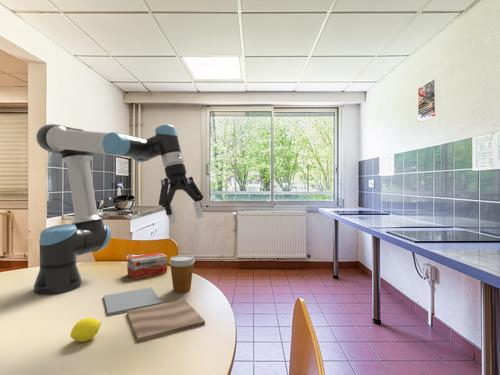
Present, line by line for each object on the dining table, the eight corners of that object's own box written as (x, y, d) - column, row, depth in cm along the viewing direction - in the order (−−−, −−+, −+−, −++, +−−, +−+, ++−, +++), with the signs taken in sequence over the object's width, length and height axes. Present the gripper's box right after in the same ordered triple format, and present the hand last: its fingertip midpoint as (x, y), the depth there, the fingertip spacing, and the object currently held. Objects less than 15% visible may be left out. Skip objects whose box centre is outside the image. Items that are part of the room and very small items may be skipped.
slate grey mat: (103, 297, 100) (103, 295, 100) (151, 289, 108) (151, 287, 108) (107, 315, 86) (107, 313, 86) (161, 304, 95) (161, 302, 95)
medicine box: (133, 279, 120) (133, 260, 120) (126, 275, 126) (127, 257, 126) (167, 273, 129) (167, 255, 129) (160, 269, 136) (160, 252, 136)
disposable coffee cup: (171, 285, 113) (171, 255, 113) (196, 285, 113) (196, 254, 113) (166, 294, 103) (166, 261, 103) (193, 294, 104) (193, 260, 104)
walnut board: (126, 314, 87) (126, 311, 87) (184, 302, 96) (184, 299, 96) (137, 342, 72) (137, 338, 72) (205, 324, 81) (205, 321, 81)
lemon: (74, 351, 69) (71, 329, 68) (69, 342, 73) (66, 321, 72) (105, 336, 74) (102, 316, 73) (99, 329, 77) (96, 310, 77)
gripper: (153, 162, 95) (167, 224, 93) (203, 162, 116) (216, 213, 114) (139, 169, 99) (153, 229, 97) (191, 168, 120) (203, 217, 118)
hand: (187, 220), depth 106 cm, fingers open, 13 cm apart
